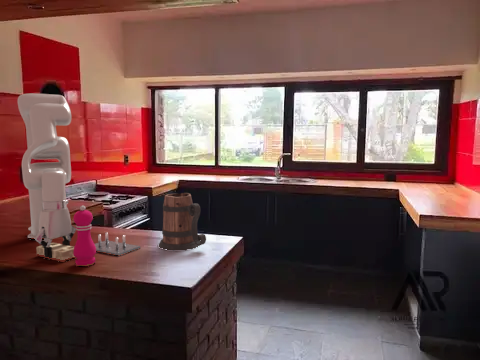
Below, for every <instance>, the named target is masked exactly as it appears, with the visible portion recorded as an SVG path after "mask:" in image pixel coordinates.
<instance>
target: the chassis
mask: <svg viewBox="0 0 480 360" xmlns="http://www.w3.org/2000/svg"><path fill="white" fill-rule="evenodd" d="M104 235H105V240H103V241H102V234H97V237H98V240H97V242H96V243H94V244H95V247H96V251H100V252H106V253H111V254H115V255H121V254H124V253H127V252H130V251H132V250H135V249H138V248H140V249H141V246H140V245H135V244H129V243H126V234H123V235H122V240H121V241H122V242H119V237H118V236H116V237H115V239H114V241H113V240H109V233H108V232H105V233H104ZM138 250H139V249H138ZM135 251H136V250H135ZM132 252H133V251H132ZM130 253H131V252H130ZM127 254H128V253H127ZM124 255H125V254H124ZM121 256H122V255H121Z"/></svg>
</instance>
